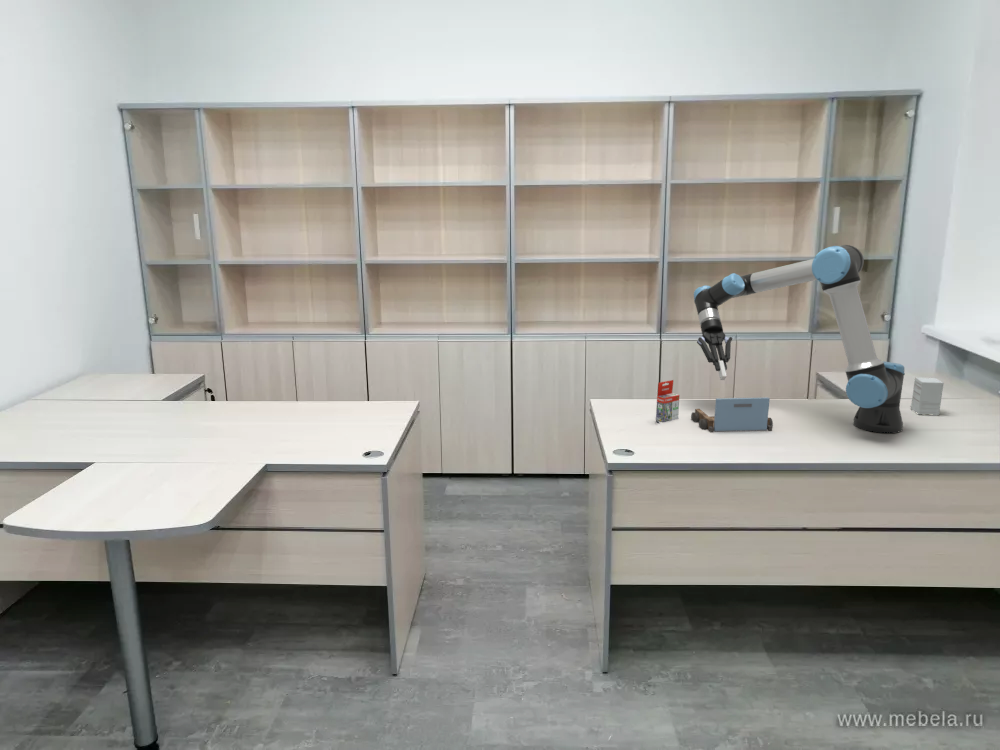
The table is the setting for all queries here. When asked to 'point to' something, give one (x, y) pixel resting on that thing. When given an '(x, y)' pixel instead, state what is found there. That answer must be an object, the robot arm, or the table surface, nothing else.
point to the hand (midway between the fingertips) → (723, 378)
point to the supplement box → (927, 396)
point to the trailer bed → (708, 421)
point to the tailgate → (741, 414)
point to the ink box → (666, 403)
